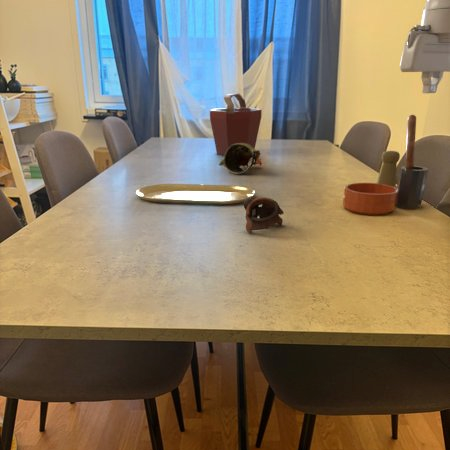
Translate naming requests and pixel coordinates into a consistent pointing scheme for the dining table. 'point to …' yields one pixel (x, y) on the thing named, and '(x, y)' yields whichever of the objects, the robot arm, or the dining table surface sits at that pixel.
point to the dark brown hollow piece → (262, 214)
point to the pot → (240, 158)
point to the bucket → (234, 124)
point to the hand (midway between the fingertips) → (428, 93)
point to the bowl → (370, 198)
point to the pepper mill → (389, 168)
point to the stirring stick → (410, 142)
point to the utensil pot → (411, 187)
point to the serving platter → (195, 194)
